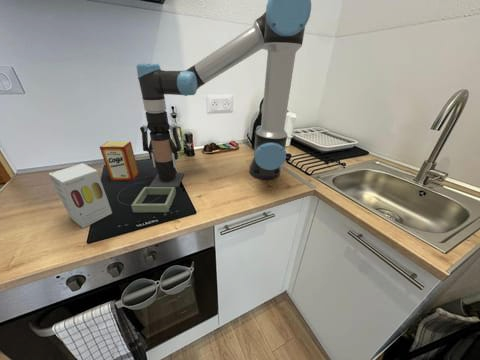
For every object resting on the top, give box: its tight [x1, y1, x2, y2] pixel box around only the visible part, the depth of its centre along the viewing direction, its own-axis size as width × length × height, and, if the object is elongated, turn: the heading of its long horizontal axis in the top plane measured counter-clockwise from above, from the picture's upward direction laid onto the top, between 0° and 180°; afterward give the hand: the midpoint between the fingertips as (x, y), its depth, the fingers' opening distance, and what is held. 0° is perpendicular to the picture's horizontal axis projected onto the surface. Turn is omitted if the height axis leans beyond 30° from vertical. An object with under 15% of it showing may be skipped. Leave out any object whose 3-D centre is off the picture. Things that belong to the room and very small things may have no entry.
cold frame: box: [131, 186, 177, 213], centre depth 74 cm, size 12×12×3 cm
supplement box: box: [48, 163, 113, 229], centre depth 63 cm, size 10×9×17 cm
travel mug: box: [149, 130, 177, 180], centre depth 83 cm, size 8×8×20 cm
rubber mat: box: [149, 172, 185, 188], centre depth 89 cm, size 12×12×1 cm
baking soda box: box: [99, 140, 139, 181], centre depth 86 cm, size 10×6×16 cm
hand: (165, 165), depth 85 cm, fingers closed on travel mug, 8 cm apart
